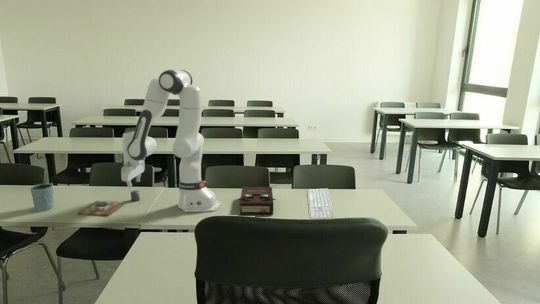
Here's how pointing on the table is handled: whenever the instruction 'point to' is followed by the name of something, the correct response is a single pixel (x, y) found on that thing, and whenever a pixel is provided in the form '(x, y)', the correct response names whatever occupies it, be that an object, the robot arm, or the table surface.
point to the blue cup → (42, 197)
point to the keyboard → (320, 204)
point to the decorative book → (256, 201)
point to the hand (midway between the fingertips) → (134, 184)
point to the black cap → (135, 196)
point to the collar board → (101, 208)
